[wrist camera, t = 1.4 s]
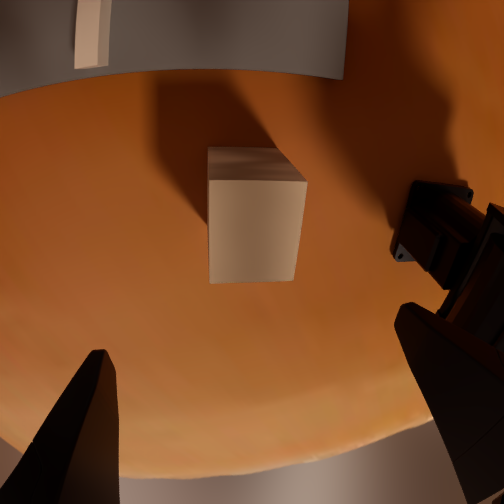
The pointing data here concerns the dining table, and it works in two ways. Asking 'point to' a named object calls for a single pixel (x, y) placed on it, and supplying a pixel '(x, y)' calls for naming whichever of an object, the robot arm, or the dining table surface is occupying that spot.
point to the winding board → (167, 38)
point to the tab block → (253, 214)
